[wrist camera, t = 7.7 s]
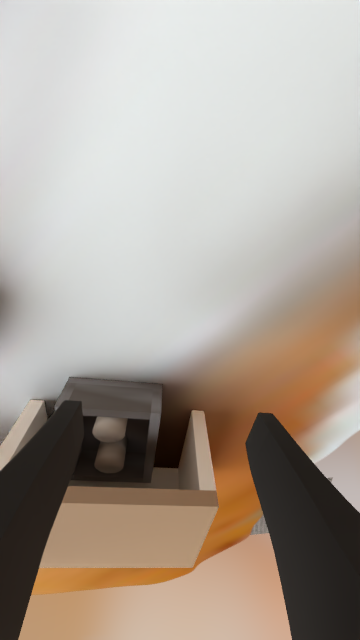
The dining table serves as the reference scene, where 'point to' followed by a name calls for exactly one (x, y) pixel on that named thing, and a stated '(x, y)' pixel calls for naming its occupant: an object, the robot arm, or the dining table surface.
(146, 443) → the tray
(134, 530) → the shallow storage bin
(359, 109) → the dining table surface
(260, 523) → the architectural model
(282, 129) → the dining table surface
